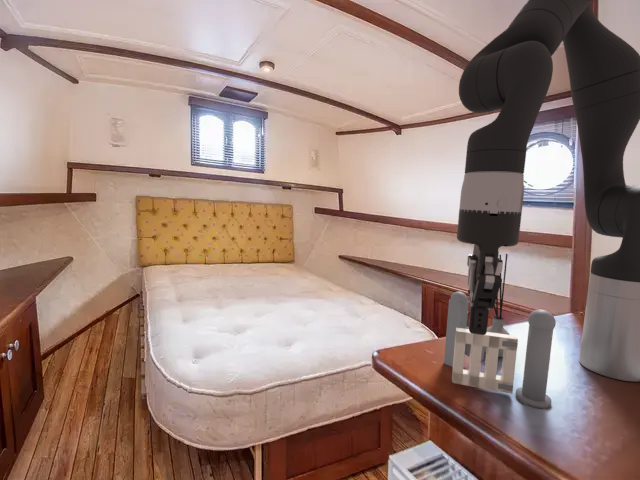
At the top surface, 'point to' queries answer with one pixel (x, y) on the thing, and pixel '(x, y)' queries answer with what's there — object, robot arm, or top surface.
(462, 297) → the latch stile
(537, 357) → the hinge post
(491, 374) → the gate
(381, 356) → the top surface
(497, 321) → the reed diffuser
